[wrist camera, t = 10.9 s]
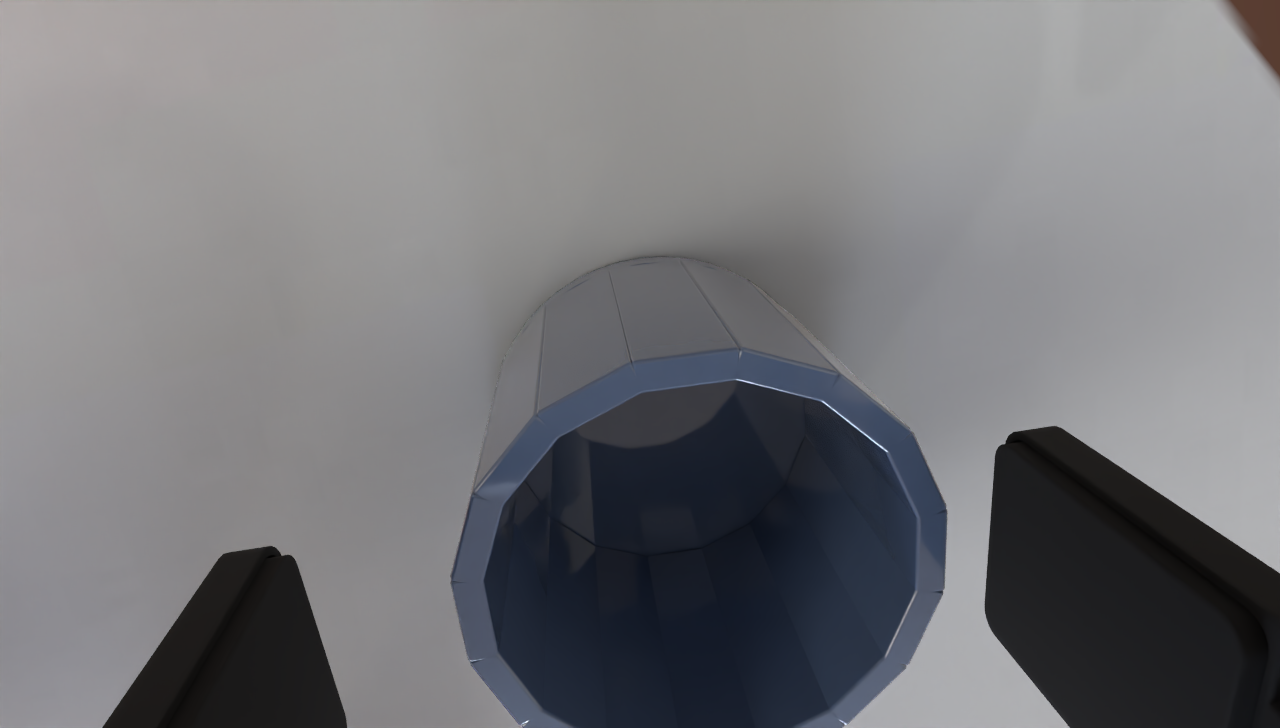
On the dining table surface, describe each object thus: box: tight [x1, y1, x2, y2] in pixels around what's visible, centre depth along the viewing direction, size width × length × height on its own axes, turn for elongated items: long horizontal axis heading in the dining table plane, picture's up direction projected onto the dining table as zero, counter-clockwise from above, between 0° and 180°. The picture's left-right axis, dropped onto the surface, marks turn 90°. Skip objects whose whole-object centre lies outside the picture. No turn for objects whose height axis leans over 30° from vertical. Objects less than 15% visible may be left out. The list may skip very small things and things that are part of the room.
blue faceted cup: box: [450, 257, 947, 728], centre depth 13 cm, size 7×7×6 cm
